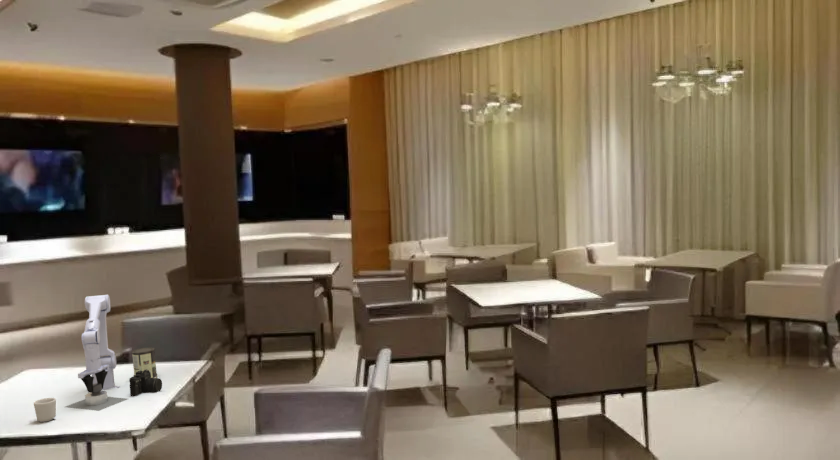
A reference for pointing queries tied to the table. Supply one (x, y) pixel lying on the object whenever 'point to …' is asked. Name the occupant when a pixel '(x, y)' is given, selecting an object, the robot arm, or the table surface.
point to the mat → (109, 403)
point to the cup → (45, 409)
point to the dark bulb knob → (96, 388)
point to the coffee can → (144, 360)
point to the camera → (144, 383)
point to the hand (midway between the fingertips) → (95, 390)
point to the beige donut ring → (96, 399)
